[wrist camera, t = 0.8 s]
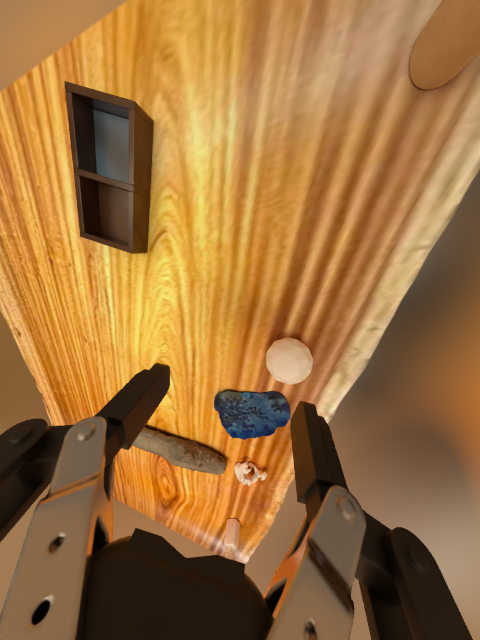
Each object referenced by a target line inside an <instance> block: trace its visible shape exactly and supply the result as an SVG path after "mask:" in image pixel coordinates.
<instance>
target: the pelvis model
mask: <svg viewBox="0 0 480 640" xmlns="http://www.w3.org/2000/svg"><path fill="white" fill-rule="evenodd" d="M248 466H251V468H250V469H248ZM253 467H254V468H255V473H254V476H253V477H251V478H249V477H248V476H247V473H249V472H250V471H251V469H252V468H253ZM244 473H246V474H244ZM235 474H236V476H237V478H238V480H239V481H240V482H242V483H243V484H242V485H244V484H248V486H250V484H252V483H254V482H256V481H257V478H259V477H261V478H262V479H261V480H262V481H263V480H265V477H266V476H267V474H266V472H264V473H262V474H261V473H260V472H258V470H257V468H256V467H255V465H254V464H252V463H250V464H248V462H245V463H243V464H240V462H238V463H237V464H236V466H235Z"/></svg>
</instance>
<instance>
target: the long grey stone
mask: <svg viewBox="0 0 480 640" xmlns="http://www.w3.org/2000/svg"><path fill="white" fill-rule="evenodd" d="M132 445H133V446H135V447H138V448H140V449H142V450H145V451H147V452H151V453H153V454H157V455H160V456H161V457H163V458H164V459H167V460H168V461H170V463H172V464H173V465H175V466H180V467H183V468H186V469H190V470H192V471H195V470H197V471H200V472H205V473H211V474H216V475H218V474H219V475H220V474H223V473H224V471H225V469H226V466H227V465H226V462H225V460H224V459H223V457H222V456H220V455H218V454H217V453H215V452H213V451H212V450H210V449H208V448H206V447H203V446H200V445H198V444H197V443H196V442H195V441H189V440H183V439H180V438H177V437H175V436H166V435H164V434H163V433H160V431H154V430H151V429H148V428H145V427H144V428H143V429H142V431H141V432H140V434H139V435H138V437H137V438H136V440H135V441H134V443H133V444H132Z"/></svg>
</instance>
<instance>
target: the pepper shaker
mask: <svg viewBox="0 0 480 640" xmlns="http://www.w3.org/2000/svg"><path fill="white" fill-rule="evenodd" d="M239 533H240V523H239V522H238V520H237V519H228V520H227V526H226V532H225V538H224V545H225V547H226V550H225V555H224V557H225V558H228V559H231V560H234V551H235V550H236V549H237V548H238V541H239Z"/></svg>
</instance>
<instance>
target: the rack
mask: <svg viewBox="0 0 480 640" xmlns="http://www.w3.org/2000/svg"><path fill="white" fill-rule="evenodd" d="M65 90H66V91H65V92H66V101H67V111H68V121H69V131H70V140H71V150H72V160H73V168H74V179H75V188H76V198H77V208H78V218H79V227H80V237H83V238H86V239H89V240H92V241H95V242H98V243H102V244H105V245H108V246H111V247H114V248H117V249H120V250H123V251H126V252H129V253H132V254H134V253H147V244H148V223H149V202H150V181H151V161H152V140H153V120H152V119H151V118H150V117H149V116H148V115H147V114H146V113H145V112H144V110H143V109H142V108H141V107H140V106H139V105H138V104H137V103H136V102H135V101H132V100H128V99H125V98H121V97H118V96H114V95H111V94H107V93H104V92H100V91H97V90H94V89H90V88H87V87H83V86H80V85H76V84H73V83H69V82H66V81H65Z"/></svg>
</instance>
